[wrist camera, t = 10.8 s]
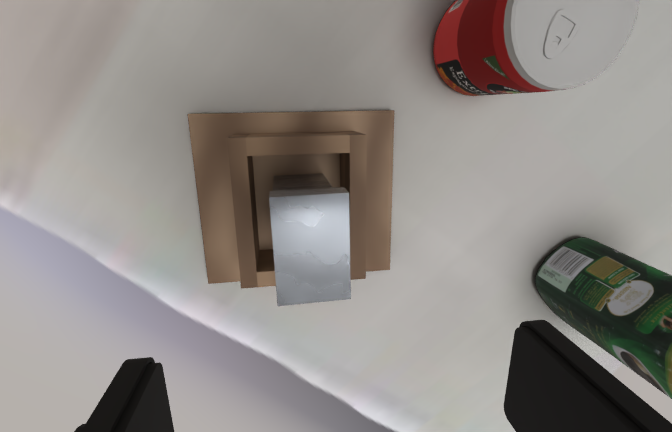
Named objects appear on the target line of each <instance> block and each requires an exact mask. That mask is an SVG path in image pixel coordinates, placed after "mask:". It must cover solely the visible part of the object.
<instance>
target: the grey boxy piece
mask: <svg viewBox="0 0 672 432" xmlns="http://www.w3.org/2000/svg"><path fill="white" fill-rule="evenodd" d="M269 204H270V216H271V229H272V241H273V254H274V266H275V279H276V291H277V304H278V306H284V305H294V304H304V303H314V302H325V301H335V300H345V299H351V282H350V224H349V192H348V191H347V190H346V189H345V188H344V187H334V188H333V187H332V186H331V184H330V183H329V181H328V180H327V178H326V177H325V176H324V174H323V173H319V174H299V175H280V176H274V180H273V191H270V193H269Z"/></svg>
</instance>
